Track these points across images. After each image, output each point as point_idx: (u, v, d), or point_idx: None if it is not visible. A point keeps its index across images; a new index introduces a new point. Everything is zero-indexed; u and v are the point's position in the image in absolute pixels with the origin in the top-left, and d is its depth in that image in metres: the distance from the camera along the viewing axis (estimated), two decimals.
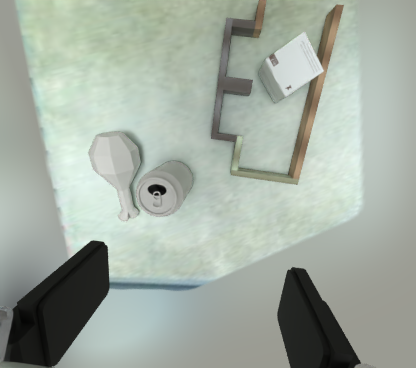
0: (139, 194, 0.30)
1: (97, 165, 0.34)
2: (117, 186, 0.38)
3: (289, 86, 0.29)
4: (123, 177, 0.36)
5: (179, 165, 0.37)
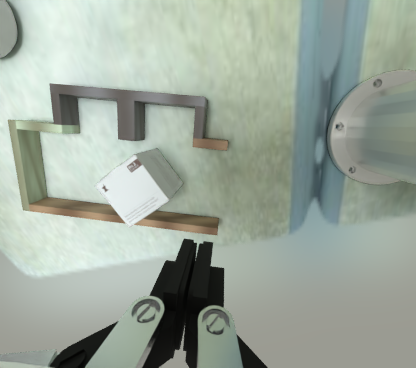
0: None
1: None
2: None
3: (106, 188, 0.21)
4: None
5: None
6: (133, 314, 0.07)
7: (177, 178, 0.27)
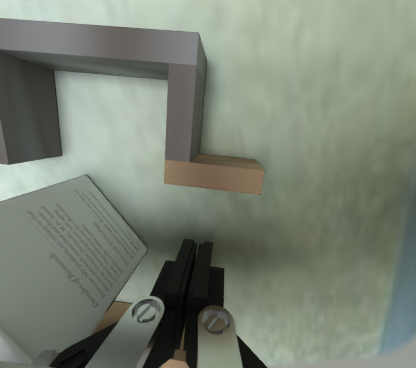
0: None
1: None
2: None
3: None
4: None
5: None
6: (133, 314, 0.07)
7: (130, 245, 0.12)
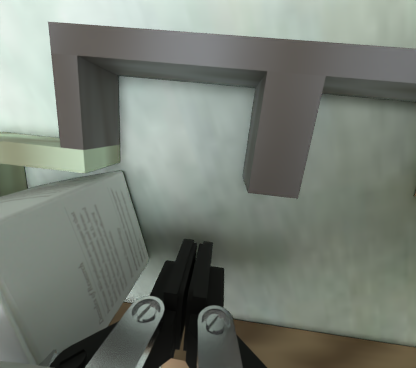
0: None
1: None
2: None
3: None
4: None
5: None
6: (133, 314, 0.07)
7: (138, 255, 0.12)
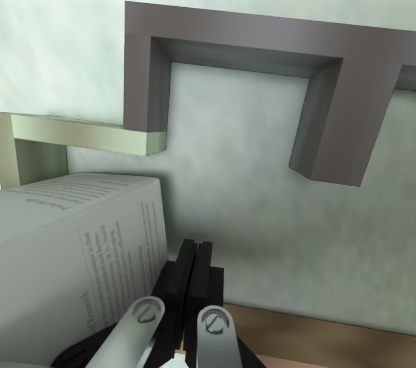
0: None
1: None
2: None
3: None
4: None
5: None
6: (134, 314, 0.07)
7: (158, 274, 0.10)
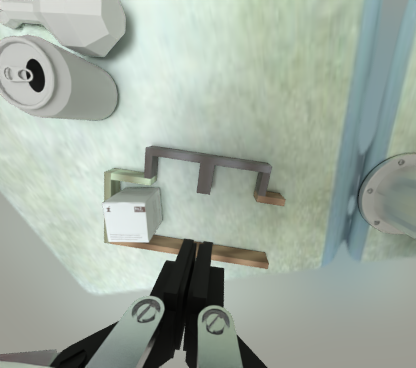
0: (19, 42, 0.18)
1: None
2: (34, 5, 0.24)
3: (109, 210, 0.27)
4: (45, 23, 0.23)
5: (106, 104, 0.27)
6: (133, 314, 0.07)
7: (160, 217, 0.34)
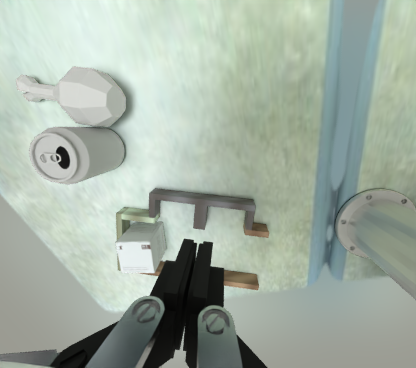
0: (51, 136, 0.25)
1: (68, 83, 0.27)
2: (54, 93, 0.30)
3: (121, 248, 0.33)
4: None
5: (115, 160, 0.33)
6: (133, 314, 0.07)
7: (164, 247, 0.39)
